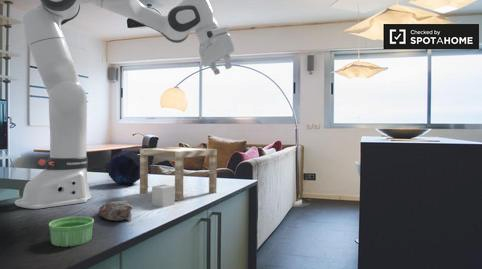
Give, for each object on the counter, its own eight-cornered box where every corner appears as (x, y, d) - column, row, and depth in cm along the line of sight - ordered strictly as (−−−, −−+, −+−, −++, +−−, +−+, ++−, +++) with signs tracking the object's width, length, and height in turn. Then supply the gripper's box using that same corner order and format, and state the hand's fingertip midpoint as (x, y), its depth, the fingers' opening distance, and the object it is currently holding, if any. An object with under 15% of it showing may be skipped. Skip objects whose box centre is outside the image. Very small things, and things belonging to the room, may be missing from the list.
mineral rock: (97, 213, 104) (97, 197, 104) (126, 210, 108) (126, 195, 107) (100, 226, 91) (100, 209, 91) (133, 223, 94) (133, 206, 94)
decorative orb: (103, 175, 141) (127, 144, 145) (98, 170, 154) (120, 142, 158) (132, 195, 147) (155, 165, 151) (125, 189, 160) (146, 161, 164)
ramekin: (38, 244, 76) (38, 224, 76) (72, 233, 85) (72, 214, 85) (71, 250, 73) (71, 229, 73) (102, 238, 82) (102, 218, 81)
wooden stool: (178, 201, 121) (179, 152, 121) (139, 193, 133) (140, 149, 132) (216, 192, 138) (216, 149, 137) (178, 186, 149) (179, 146, 149)
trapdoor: (179, 154, 125) (179, 150, 125) (151, 151, 133) (151, 148, 133) (205, 151, 136) (205, 148, 136) (178, 149, 145) (178, 147, 145)
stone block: (162, 207, 112) (163, 188, 112) (152, 205, 115) (152, 186, 115) (174, 204, 116) (174, 186, 116) (163, 202, 119) (163, 184, 119)
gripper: (191, 46, 142) (204, 79, 144) (214, 29, 124) (229, 67, 126) (205, 42, 145) (217, 75, 147) (229, 25, 127) (243, 62, 129)
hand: (223, 71), depth 136 cm, fingers open, 8 cm apart
